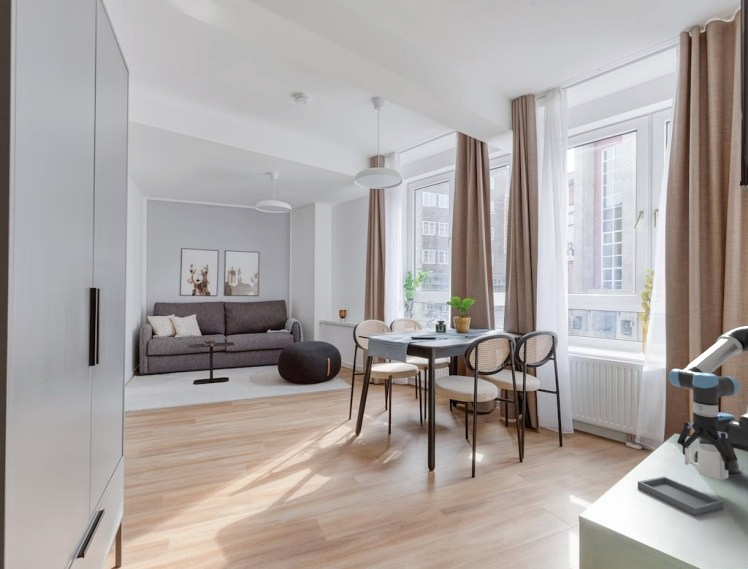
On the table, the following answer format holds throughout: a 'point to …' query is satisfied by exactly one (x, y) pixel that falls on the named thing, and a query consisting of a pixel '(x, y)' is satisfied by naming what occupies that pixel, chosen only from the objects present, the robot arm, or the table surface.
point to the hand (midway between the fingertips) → (705, 470)
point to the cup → (707, 460)
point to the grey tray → (681, 496)
